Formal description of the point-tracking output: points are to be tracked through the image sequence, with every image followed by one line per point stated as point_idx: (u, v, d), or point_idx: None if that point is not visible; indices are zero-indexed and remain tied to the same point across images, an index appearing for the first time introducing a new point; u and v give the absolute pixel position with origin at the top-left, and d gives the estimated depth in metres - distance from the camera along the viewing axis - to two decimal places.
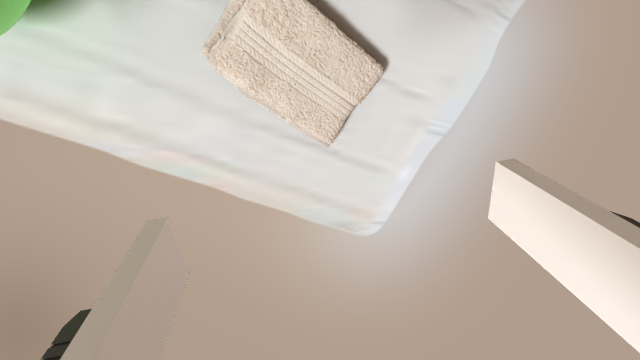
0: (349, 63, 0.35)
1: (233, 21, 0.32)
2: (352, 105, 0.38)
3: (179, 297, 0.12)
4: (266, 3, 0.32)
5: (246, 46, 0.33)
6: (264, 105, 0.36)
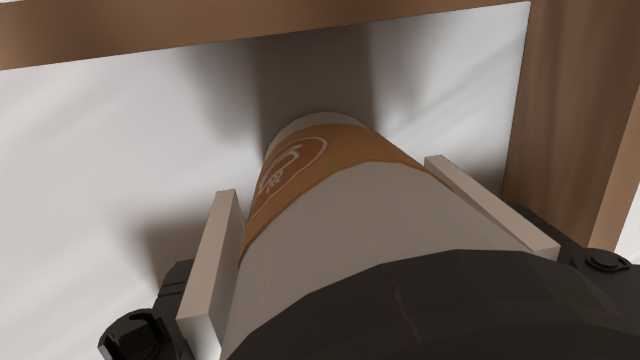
0: None
1: None
2: None
3: None
4: None
5: None
6: None
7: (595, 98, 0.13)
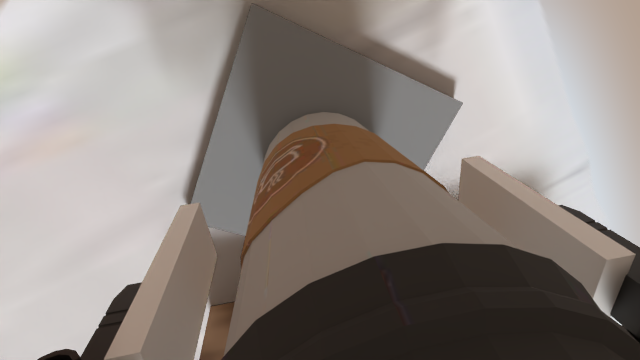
0: None
1: None
2: None
3: (210, 277, 0.12)
4: None
5: None
6: None
7: None
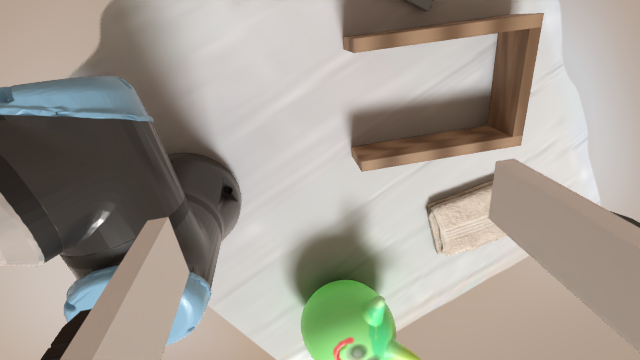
0: None
1: (442, 236, 0.57)
2: None
3: (179, 297, 0.12)
4: (448, 218, 0.55)
5: (454, 236, 0.57)
6: (483, 244, 0.59)
7: (516, 61, 0.42)
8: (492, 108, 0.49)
